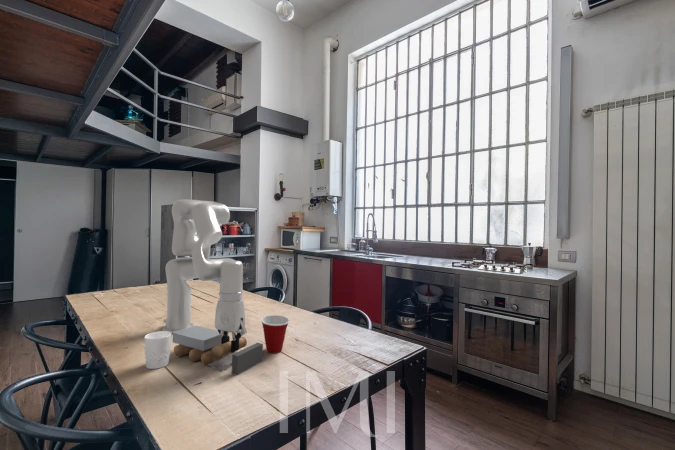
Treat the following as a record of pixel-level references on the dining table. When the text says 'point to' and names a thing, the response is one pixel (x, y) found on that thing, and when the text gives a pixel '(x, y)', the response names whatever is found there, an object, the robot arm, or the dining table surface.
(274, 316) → the plastic cup
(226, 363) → the grey flat plate
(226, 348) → the roller
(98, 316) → the dining table surface
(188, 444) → the dining table surface
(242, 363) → the block
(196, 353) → the roller bed
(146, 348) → the white cup
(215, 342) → the slab
